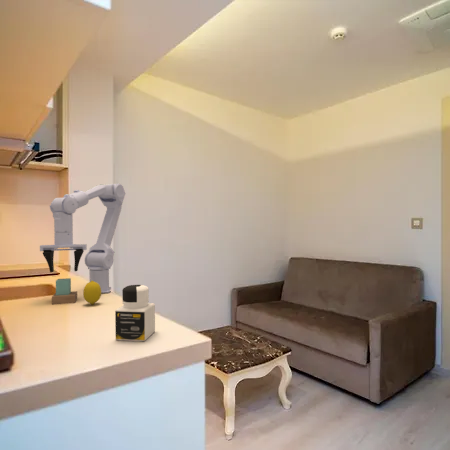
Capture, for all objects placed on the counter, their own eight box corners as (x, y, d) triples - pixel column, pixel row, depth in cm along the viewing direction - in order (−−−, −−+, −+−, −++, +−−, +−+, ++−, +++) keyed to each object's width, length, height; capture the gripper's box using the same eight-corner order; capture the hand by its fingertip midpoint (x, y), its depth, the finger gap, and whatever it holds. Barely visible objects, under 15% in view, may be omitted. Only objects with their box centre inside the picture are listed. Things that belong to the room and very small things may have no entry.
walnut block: (55, 301, 117) (55, 292, 117) (77, 299, 119) (77, 291, 119) (52, 305, 110) (51, 296, 110) (74, 304, 113) (74, 295, 113)
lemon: (97, 306, 107) (97, 282, 107) (80, 306, 107) (80, 282, 107) (103, 302, 113) (103, 279, 113) (87, 302, 113) (87, 279, 113)
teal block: (58, 293, 116) (58, 278, 116) (70, 292, 117) (70, 278, 117) (55, 295, 112) (55, 280, 112) (68, 294, 114) (68, 280, 113)
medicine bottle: (115, 340, 76) (114, 288, 76) (128, 330, 83) (127, 282, 83) (144, 341, 75) (144, 289, 75) (155, 331, 82) (155, 283, 82)
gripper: (36, 232, 109) (37, 274, 109) (84, 232, 113) (84, 272, 113) (42, 232, 116) (43, 271, 116) (87, 231, 119) (87, 269, 120)
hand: (64, 271), depth 115 cm, fingers open, 7 cm apart
